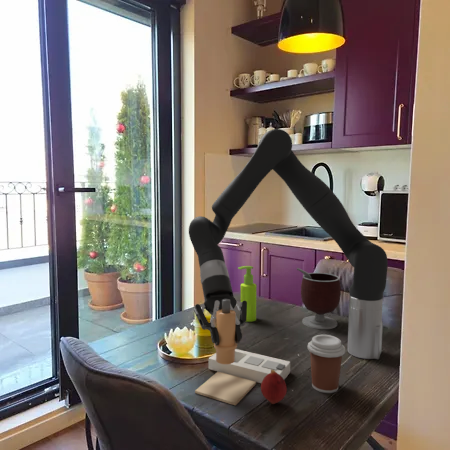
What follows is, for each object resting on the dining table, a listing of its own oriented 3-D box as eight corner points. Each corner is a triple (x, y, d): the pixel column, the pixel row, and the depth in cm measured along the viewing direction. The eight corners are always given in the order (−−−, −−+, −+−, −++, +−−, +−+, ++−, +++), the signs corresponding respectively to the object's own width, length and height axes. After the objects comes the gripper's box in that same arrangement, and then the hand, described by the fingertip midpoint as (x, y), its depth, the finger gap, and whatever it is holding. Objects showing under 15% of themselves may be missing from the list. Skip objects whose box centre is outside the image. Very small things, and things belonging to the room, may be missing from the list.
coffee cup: (339, 400, 91) (341, 350, 89) (301, 389, 95) (302, 342, 94) (347, 382, 99) (349, 337, 97) (312, 374, 103) (313, 330, 102)
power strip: (290, 372, 104) (290, 360, 103) (277, 387, 96) (278, 374, 96) (224, 356, 113) (224, 345, 113) (208, 369, 106) (208, 357, 105)
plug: (240, 358, 96) (241, 298, 94) (230, 367, 91) (231, 305, 89) (221, 353, 99) (221, 295, 97) (209, 361, 94) (210, 301, 92)
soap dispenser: (235, 317, 146) (235, 265, 144) (252, 315, 149) (253, 264, 146) (240, 322, 141) (241, 268, 139) (258, 320, 143) (259, 267, 141)
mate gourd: (336, 317, 147) (338, 265, 145) (342, 331, 133) (344, 273, 131) (295, 315, 149) (296, 264, 147) (296, 328, 135) (297, 272, 133)
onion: (283, 396, 92) (284, 363, 91) (288, 410, 86) (289, 376, 86) (259, 396, 92) (259, 364, 91) (262, 410, 86) (262, 376, 85)
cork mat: (255, 384, 98) (255, 381, 98) (235, 405, 88) (235, 403, 88) (217, 373, 103) (217, 371, 103) (195, 392, 93) (195, 390, 93)
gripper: (190, 275, 98) (201, 339, 88) (244, 272, 102) (260, 333, 92) (187, 290, 104) (196, 352, 93) (238, 286, 108) (252, 346, 97)
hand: (228, 342), depth 93 cm, fingers closed on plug, 4 cm apart
